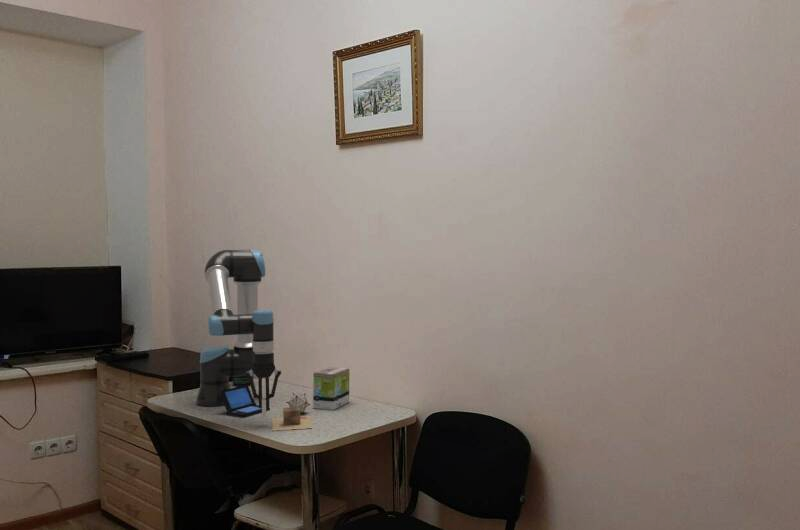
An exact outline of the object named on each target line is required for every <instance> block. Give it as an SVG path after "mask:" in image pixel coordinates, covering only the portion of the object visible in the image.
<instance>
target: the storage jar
mask: <svg viewBox="0 0 800 530" xmlns="http://www.w3.org/2000/svg"><path fill="white" fill-rule="evenodd" d="M252 378H253V380H254V375H253V376H252ZM244 385H246V386H248V387H251V386H250V382H249V379H248V377H247V376H234V377H232V386H233V387H234V386H236V387H240V386H244Z"/></svg>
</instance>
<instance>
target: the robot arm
mask: <svg viewBox="0 0 800 530" xmlns="http://www.w3.org/2000/svg"><path fill="white" fill-rule="evenodd" d="M265 276H266V265H265V259H264V256H263V253H262V251H260V250H258V249H223V250H220V251H217V252H215V253H214V254H213V255H212V256H211V257H210V258H209V259H208V260H207V263H206V264H205V268H204V279H205V280H206V281H207V283H208V288H209V297H210V305H211V314H212V315H209V317H208V321H207V327H208V329H207V330H208V334H209V335H210V336H215V337H216V336H219V337H223V336H237V337H236V338H237V339H236V341H235V343H233V348H232V349H230V347H229V346H228V345H219V346H212V347H209V348H206V349H203V350H202V351H201V352H200V355H199V357H200V358H199V365H200V367H199V368H200V370H199V372H200V379H199V381H200V382H199V383H200V384H199V385H200V386H199V389H198V392H197V396H196V398H195V400H196V402H195V404H196V403H197V404H199V405H198V406H200V405H205V406H204V407H219V406H218V405H221V406H224V403H223V401H222V398H221V396H220V391H222V390H227V389H231V385H230V378H233V377H234V376H247V377H248V379H249V382H250V385H251V386H250V390H251V392H252V393H251V394H252V398H253V399H256V400H258V405H259V408H262V413H261V418H263V419H264V418H265V419H266V418H267V411H266V408H269V407H270V399H272V398H274V397H275V395H276V390H277V385H278V380H279V378H280V376H281V374H282V370H281V369H278V368H277V367H276V366H275V353H274V351H275V350H274V349H275V347H274V346H275V345H274V344H275V343H274V341H275V340H274V322H275V321H274V320H275V319H274V312H273V310H270V309H259V307H258V306H259V305H258V304H259V302H258V301H259V300H258V299H259V297H258V296H259V292H258V290H259V288H258V287H259V284H260V283H261V282H262V278H264V277H265ZM229 278H233V283H234V284H235V285H236V291H237V292H236V294H237V295H236V299H237V300H236V301H237V302H236V305H237V306H236V309H237V312H236V314H234V312H233V306H232V305H233V304H232V299H231V293H230V292H231V291H230V287H229V280H228V279H229ZM273 373H274V379H273V383H272V387H271V392H270V378H271V376H272V375H273ZM252 376H253V378H254V376H256V377H257V379H258V380H257V381H258V382H257V383H258V389H257V390H258V393H257V390H256V385H255V382H254V379H253V378H252ZM263 379H265V398H264V397H263ZM197 404H196V405H197Z"/></svg>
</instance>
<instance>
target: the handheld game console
mask: <svg viewBox="0 0 800 530" xmlns="http://www.w3.org/2000/svg"><path fill="white" fill-rule="evenodd" d="M249 387H250V386H246V385H244V386H240V387H232V388H231V387H230V388H231V389H227V390H222V391H220V396H221V398H222V401H223V403H224V405H223V406H224V408H225V410H226V415H227V416H231V415H232V416H231V417H236V416H238V417H237V418H242V417H244V418H247V416H248V417H251V416H250V415H252V416H255V415H258V414H262V413H261V412H262V408H259V404H257V403H256V402H255V398H254V397H253V393H251V392H252V391H251V389H250V388H249ZM270 409H271V408H270V406H269V408H266V412H269V411H270ZM254 414H255V415H254Z"/></svg>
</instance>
